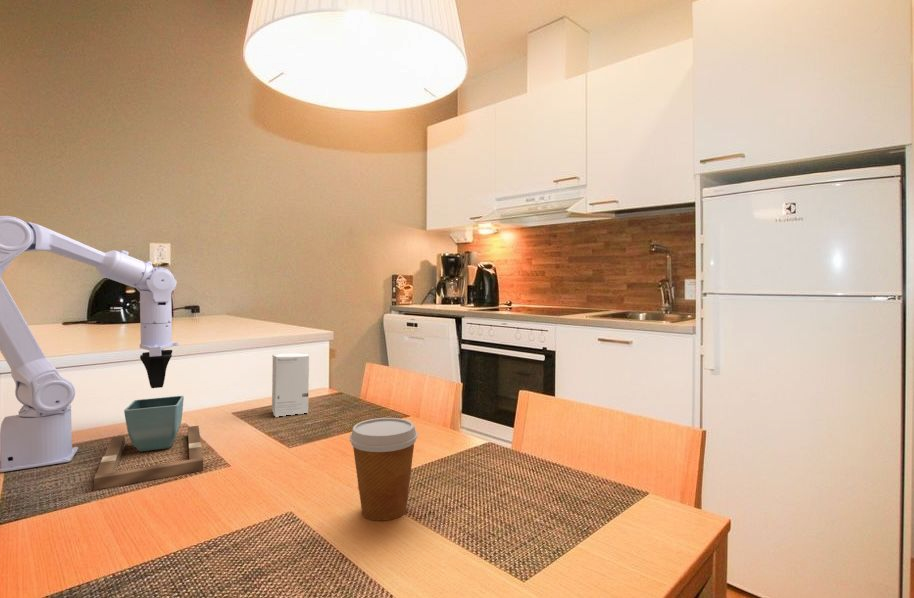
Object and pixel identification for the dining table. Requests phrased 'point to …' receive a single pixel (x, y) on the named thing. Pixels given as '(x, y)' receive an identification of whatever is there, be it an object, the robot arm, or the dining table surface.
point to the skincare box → (290, 384)
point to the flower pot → (154, 422)
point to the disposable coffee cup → (383, 465)
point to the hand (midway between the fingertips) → (157, 385)
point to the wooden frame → (110, 461)
